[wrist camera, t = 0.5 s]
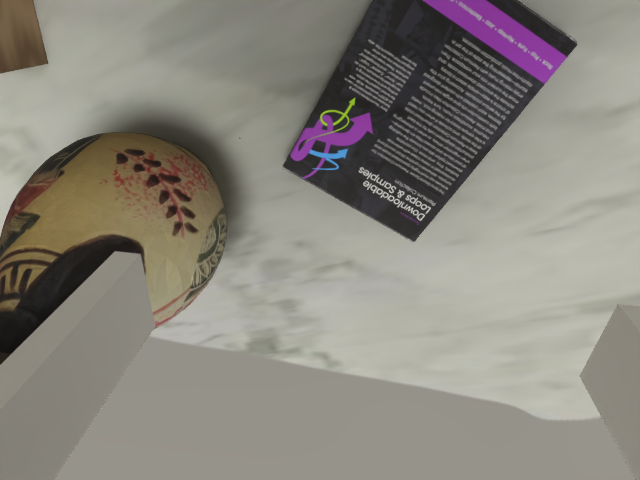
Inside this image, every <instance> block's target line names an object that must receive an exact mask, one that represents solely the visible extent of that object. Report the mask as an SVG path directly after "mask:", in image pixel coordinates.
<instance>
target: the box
mask: <svg viewBox="0 0 640 480" xmlns="http://www.w3.org/2000/svg"><path fill="white" fill-rule="evenodd" d="M576 46H577V42H576V40H575V39H573V38H572V37H571V36H569V35H567V34H565V33H564V32H562V31H561V30H559V29H558V28H556V27H555V26H553V25H552V24H551V23H549V22H548V21H546V20H545V19H543V18H542V17H541V16H539V15H538V14H536V13H535V12H534V11H532V10H531V9H529V8H528V7H526V6H525V5H523V4H522V3H521V2H519V1H518V0H373V1H372V3H371V5H370V7H369V9H368V10H367V12H366V14H365V16H364V18H363V20H362V22H361V24H360V25H359V27H358V29H357V31H356V33H355V35H354V37H353V38H352V40H351V42H350V44H349V46H348V48H347V50H346V51H345V53H344V55H343V57H342V59H341V61H340V62H339V64H338V66H337V68H336V70H335V72H334V74H333V75H332V77H331V79H330V81H329V83H328V85H327V87H326V88H325V90H324V92H323V94H322V96H321V98H320V99H319V101H318V103H317V105H316V107H315V108H314V110H313V112H312V114H311V116H310V118H309V120H308V121H307V123H306V125H305V127H304V129H303V131H302V132H301V134H300V136H299V138H298V140H297V142H296V143H295V145H294V147H293V149H292V150H291V152H290V154H289V156H288V157H287V159H286V161H285V163H284V164H283V170H286V171H288V172H289V173H293V174H295V175H296V176H298V177H300V178H302V179H303V180H305V181H307V182H309V183H310V184H312V185H314V186H316V187H318V188H319V189H321V190H323V191H324V192H326V193H328V194H330V195H332V196H333V197H335V198H337V199H339V200H340V201H342V202H344V203H346V204H347V205H349V206H351V207H353V208H354V209H356V210H358V211H360V212H362V213H363V214H365V215H367V216H369V217H370V218H372V219H374V220H376V221H377V222H379V223H381V224H383V225H384V226H386V227H388V228H390V229H392V230H393V231H395V232H397V233H399V234H400V235H402V236H404V237H405V238H406V239H408V240H409V241H411V242H414V241H415V240H416V239H417V238H418V237H419V235H420V234H421V233H422V232H423V231H424V229H425V228H426V227H427V226H428V224H429V223H430V222H431V221H432V220H433V219H434V217H435V216H436V215H437V214H438V212H439V211H440V210H441V209H442V208H443V206H444V205H445V204H446V203H447V202H448V200H449V199H450V198H451V197H452V196H453V194H454V193H455V192H456V191H457V190H458V188H459V187H460V186H461V185H462V184H463V182H464V181H465V180H466V179H467V178H468V176H469V175H470V174H471V173H472V172H473V170H474V169H475V168H476V167H477V165H478V164H479V163H480V162H481V161H482V159H483V158H484V157H485V156H486V154H487V153H488V152H489V151H490V150H491V148H492V147H493V146H494V145H495V144H496V142H497V141H498V140H499V139H500V138H501V137H502V135H503V134H504V133H505V132H506V130H507V129H508V128H509V127H510V125H511V124H512V123H513V122H514V121H515V120H516V118H517V117H518V116H519V115H520V114H521V112H522V111H523V110H524V108H525V107H526V106H527V105H528V103H529V102H530V101H531V100H532V99H533V97H534V96H535V95H536V94H537V93H538V92H539V90H540V89H541V88H542V87H543V86H544V84H545V83H546V82H547V81H548V79H549V78H550V77H551V76H552V75H553V74H554V72H555V71H556V70H557V69H558V67H559V66H560V65H561V64H562V63H563V61H564V60H565V59H566V58H567V57H568V55H569V54H570V53H571V52H572V51H573V49H574V48H575V47H576Z"/></svg>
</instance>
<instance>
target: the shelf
mask: <svg viewBox="0 0 640 480" xmlns="http://www.w3.org/2000/svg"><path fill="white" fill-rule="evenodd" d="M43 64H48V62H47V58H46V53H45V49H44V45H43V41H42V37H41V33H40V29H39V25H38V21H37V17H36V12H35V8H34V4H33V0H0V73H4V72H9V71H14V70H19V69H24V68H29V67H34V66H38V65H43Z"/></svg>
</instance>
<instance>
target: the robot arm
mask: <svg viewBox="0 0 640 480" xmlns="http://www.w3.org/2000/svg"><path fill="white" fill-rule="evenodd" d="M154 327H155V322H154V317H153V313H152V308H151V303H150V298H149V293H148V288H147V283H146V278H145V273H144V268H143V263H142V258H141V254H136V253H127V252H117V251H115V252H114V253H113V254H112V255H111V256H110V257H109V258H108V259H107V260H106V261H105V262H104V263H103V264H102V265H101V266H100V267H99V268H98V269H97V270H96V271H95V272H94V273H93V274H92V275H91V276H90V277H89V278H88V279H87V280H86V281H85V282H84V283H83V284H82V285H81V286H79V287H78V288H77V289H76V290H75V291H74V292H73V293H72V294H71V295H70V296H69V297H68V298H67V299H66V300H65V301H64V302H63V303H62V304H61V305H60V306H59V307H58V308H57V309H56V310H55V311H54V312H53V313H52V314H51V315H50V316H49V317H48V318H47V319H46V320H45V321H44V322H43V323H42V324H41V325H40V326H39V327H38V328H37V329H36V330H35V331H34V332H33V333H32V334H31V335H30V336H29V337H28V338H27V339H26V340H25V341H24V342H23V343H22V344H21V345H20V346H19V347H18V348H17V349H16V350H15V351H14V352H13V353H12V354H8V353H1V352H0V480H54V479H55V478H56V476H57V475H58V473H59V472H60V470H61V469H62V467H63V466H64V464H65V463H66V461H67V460H68V458H69V457H70V455H71V454H72V452H73V450H74V449H75V447H76V446H77V444H78V443H79V441H80V440H81V438H82V437H83V435H84V434H85V432H86V431H87V429H88V428H89V426H90V425H91V423H92V421H93V420H94V418H95V417H96V416H97V414H98V413H99V411H100V409H101V408H102V406H103V405H104V403H105V402H106V400H107V399H108V397H109V396H110V394H111V393H112V391H113V390H114V388H115V387H116V385H117V384H118V382H119V381H120V379H121V377H122V376H123V375H124V373H125V371H126V370H127V368H128V367H129V365H130V364H131V362H132V361H133V359H134V358H135V356H136V355H137V353H138V352H139V350H140V349H141V347H142V346H143V344H144V343H145V341H146V339H147V338H148V337H149V335H150V334H151V332H152V331H153V329H154ZM580 378H581V380H582V382H583V383H584V385H585V387H586V389H587V391H588V393H589V394H590V396H591V398H592V400H593V402H594V404H595V406H596V407H597V409H598V411H599V413H600V415H601V417H602V419H603V420H604V422H605V424H606V426H607V428H608V430H609V431H610V433H611V435H612V437H613V439H614V441H615V443H616V444H617V446H618V448H619V450H620V452H621V454H622V456H623V457H624V459H625V461H626V463H627V465H628V467H629V469H630V470H631V472H632V474H633V476H634V478H635V480H640V306H631V305H622V304H618V305H617V307H616V309H615V311H614V312H613V314H612V316H611V318H610V320H609V322H608V324H607V326H606V327H605V329H604V331H603V333H602V335H601V337H600V339H599V341H598V342H597V344H596V346H595V348H594V350H593V352H592V354H591V356H590V357H589V359H588V361H587V363H586V365H585V367H584V369H583V371H582V372H581V374H580Z"/></svg>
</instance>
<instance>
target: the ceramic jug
mask: <svg viewBox="0 0 640 480" xmlns="http://www.w3.org/2000/svg"><path fill="white" fill-rule="evenodd" d="M239 138H240V137H239ZM226 217H227V215H226V209H225V207H224V204H223V202H222V198H221V195H220V192H219V189H218V186H217V184H216V182H215V181H214V179H213V178H212V176H211V173H210V171H209V169H208V167H207V166H206V165H205V164H204V163H202V162H201V161H200V160H199V159H197V158H196V157H195V156H194V155H193V154H192V153H191V152H189V151H188V150H186V149H184V148H183V147H180V146H177V145H176V144H174V143H171V142H169V141H167V140H164V139H161V138H157V137H153V136H149V135H146V134H139V133H130V132H113V133H103V134H97V135H93V136H90V137H86V138H83V139H80V140H77V141H76V142H74V143H72V144H71V145H69V146H67V147H66V148H64V149H62V150H61V151H59V152H58V153H56V154H55V155H53V156H51V157H50V158H49V159H48V160H46V161H45V162H44V163H43V164H42V165H41V166H40V167H39V168H38V169H37V170H36V171H35V172H34V174H33V175H32V176H31V178H30V179H29V180H28V181H27V183H26V184H25V185H24V186H23V188H22V189H21V190H20V191H19V193H18V194H17V196H16V198H15V200H14V201H13V203H12V205H11V207H10V209H9V212H8V214H7V217H6V220H5V223H4V226H3V229H2V233H1V237H0V352H1V353H8V354H12V353H13V352H14V351H15V350H16V349H17V348H18V347H19V346H20V345H21V344H22V343H23V342H24V341H25V340H26V339H27V338H28V337H29V336H30V335H31V334H32V333H33V332H34V331H35V330H36V329H37V328H38V327H39V326H40V325H41V324H42V323H43V322H44V321H45V320H46V319H47V318H48V317H49V316H50V315H51V314H52V313H53V312H54V311H55V310H56V309H57V308H58V307H59V306H60V305H61V304H62V303H63V302H64V301H65V300H66V299H67V298H68V297H69V296H70V295H71V294H72V293H73V292H74V291H75V290H76V289H77V288H78V287H79V286H81V285H82V284H83V283H84V282H85V281H86V280H87V279H88V278H89V277H90V276H91V275H92V274H93V273H94V272H95V271H96V270H97V269H98V268H99V267H100V266H101V265H102V264H103V263H104V262H105V261H106V260H107V259H108V258H109V257H110V256H111V255H112V254H113V253H114V252H115V251H117V252H127V253H136V254H141V258H142V263H143V268H144V273H145V278H146V283H147V288H148V293H149V298H150V303H151V308H152V313H153V317H154V322H155V327H154V329H155V328H157V327H159V326H161V325H162V324H164V323H165V322H167V321H169V320H170V319H172V318H173V317H175V316H176V315H178V314H179V313H180V312H181V311H183V310H184V309H185V308H186V307H187V306H188V305H190V304H191V303H192V301H193V300H194V299H195V298H196V297H197V296H198V295H199V294H200V293H201V291H202V290H203V289H204V288H205V287H206V286H207V284H208V283H209V281H210V280H211V278H212V277H213V275H214V273H215V271H216V269H217V267H218V265H219V262H220V260H221V257H222V254H223V251H224V248H225V243H226V236H227V224H226Z"/></svg>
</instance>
